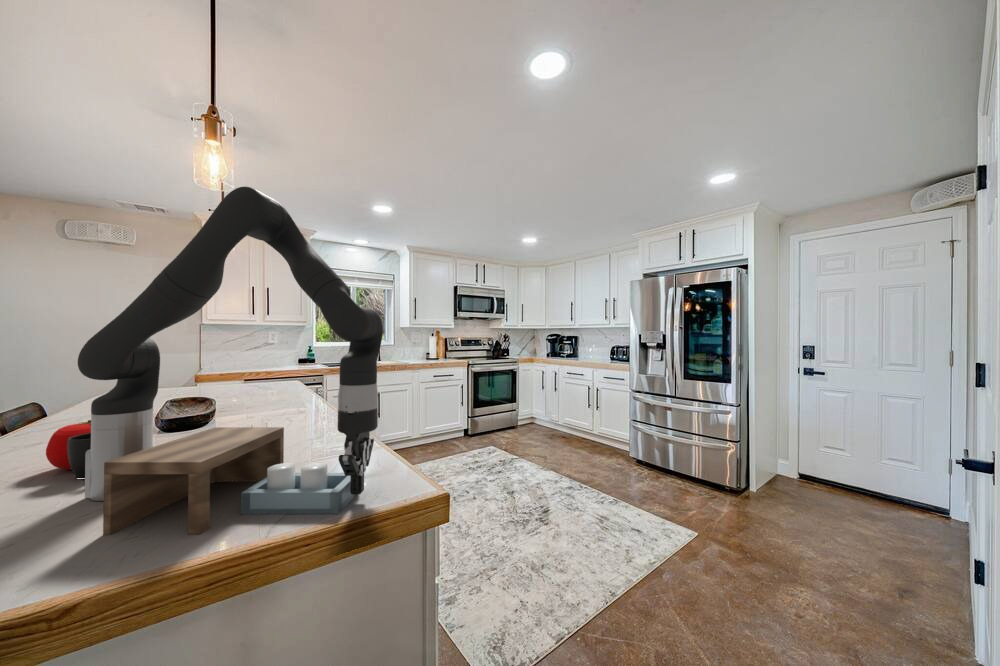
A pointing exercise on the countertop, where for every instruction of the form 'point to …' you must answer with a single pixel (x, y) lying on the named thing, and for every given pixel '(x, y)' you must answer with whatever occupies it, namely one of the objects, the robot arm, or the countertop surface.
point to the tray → (298, 491)
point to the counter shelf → (186, 473)
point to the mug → (78, 453)
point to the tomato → (64, 443)
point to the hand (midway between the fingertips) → (357, 492)
